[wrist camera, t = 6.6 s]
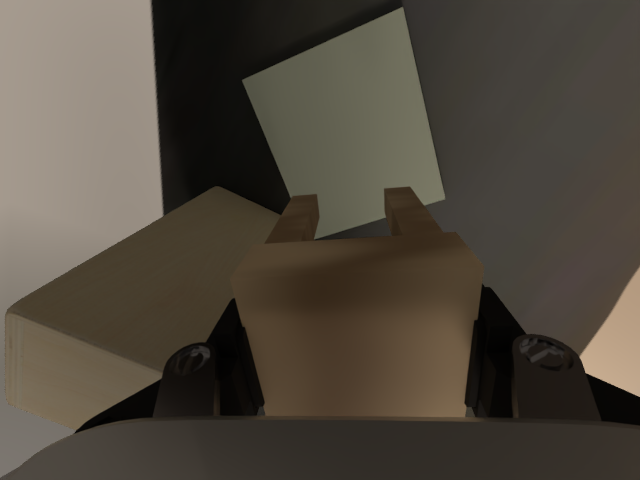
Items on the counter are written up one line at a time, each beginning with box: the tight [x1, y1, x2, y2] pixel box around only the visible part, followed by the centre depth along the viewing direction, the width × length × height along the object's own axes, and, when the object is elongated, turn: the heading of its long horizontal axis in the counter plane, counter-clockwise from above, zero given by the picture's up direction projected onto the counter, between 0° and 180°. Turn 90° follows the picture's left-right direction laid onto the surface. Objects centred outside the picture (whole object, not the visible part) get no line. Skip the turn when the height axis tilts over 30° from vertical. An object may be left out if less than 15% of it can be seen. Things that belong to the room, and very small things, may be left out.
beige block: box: [5, 186, 281, 430], centre depth 23 cm, size 8×7×21 cm
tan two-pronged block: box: [230, 186, 484, 417], centre depth 12 cm, size 6×6×8 cm
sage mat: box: [242, 7, 445, 239], centre depth 28 cm, size 16×14×1 cm
